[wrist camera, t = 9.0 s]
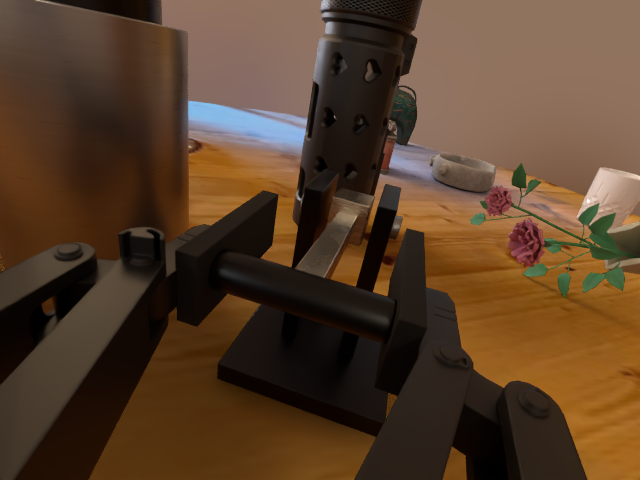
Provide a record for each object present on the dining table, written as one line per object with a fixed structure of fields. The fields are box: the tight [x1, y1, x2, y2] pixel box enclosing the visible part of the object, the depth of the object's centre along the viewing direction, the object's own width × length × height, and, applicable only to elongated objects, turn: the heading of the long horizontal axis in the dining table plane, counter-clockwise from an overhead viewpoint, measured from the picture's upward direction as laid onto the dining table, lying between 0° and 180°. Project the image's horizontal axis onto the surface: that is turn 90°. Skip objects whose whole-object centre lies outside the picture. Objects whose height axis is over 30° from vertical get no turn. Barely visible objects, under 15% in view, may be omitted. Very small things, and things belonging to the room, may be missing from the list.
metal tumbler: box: [0, 0, 189, 314], centre depth 23 cm, size 12×12×20 cm
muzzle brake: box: [293, 0, 422, 226], centre depth 37 cm, size 10×28×10 cm
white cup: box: [576, 167, 640, 229], centre depth 62 cm, size 8×8×10 cm
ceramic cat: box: [360, 86, 417, 145], centre depth 101 cm, size 20×6×20 cm, turn 107°
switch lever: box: [209, 188, 397, 344], centre depth 16 cm, size 12×6×2 cm, turn 165°
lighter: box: [380, 121, 397, 174], centre depth 72 cm, size 8×3×10 cm, turn 179°
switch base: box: [217, 169, 402, 437], centre depth 22 cm, size 12×10×12 cm
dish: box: [429, 154, 496, 192], centre depth 74 cm, size 14×14×5 cm
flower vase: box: [470, 164, 640, 298], centre depth 38 cm, size 12×12×35 cm
